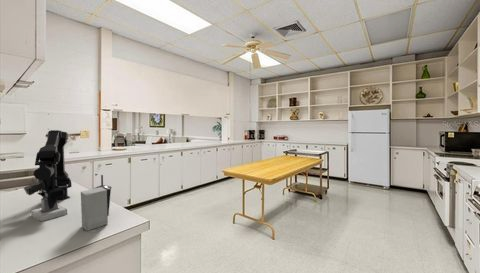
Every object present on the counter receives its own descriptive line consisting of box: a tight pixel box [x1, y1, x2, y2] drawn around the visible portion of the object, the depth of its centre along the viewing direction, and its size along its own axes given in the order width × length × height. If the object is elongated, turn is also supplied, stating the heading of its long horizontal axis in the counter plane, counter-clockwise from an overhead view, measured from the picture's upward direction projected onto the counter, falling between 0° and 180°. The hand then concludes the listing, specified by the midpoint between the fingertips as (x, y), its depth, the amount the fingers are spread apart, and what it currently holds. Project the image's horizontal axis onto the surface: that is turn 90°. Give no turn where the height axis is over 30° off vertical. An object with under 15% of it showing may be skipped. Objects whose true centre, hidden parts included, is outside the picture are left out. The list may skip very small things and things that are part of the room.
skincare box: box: [80, 187, 109, 232], centre depth 93 cm, size 8×7×16 cm
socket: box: [30, 204, 68, 222], centre depth 104 cm, size 12×10×3 cm
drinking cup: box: [92, 174, 112, 216], centre depth 103 cm, size 8×8×20 cm
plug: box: [40, 197, 59, 213], centre depth 104 cm, size 4×5×7 cm
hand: (49, 207), depth 104 cm, fingers open, 4 cm apart
